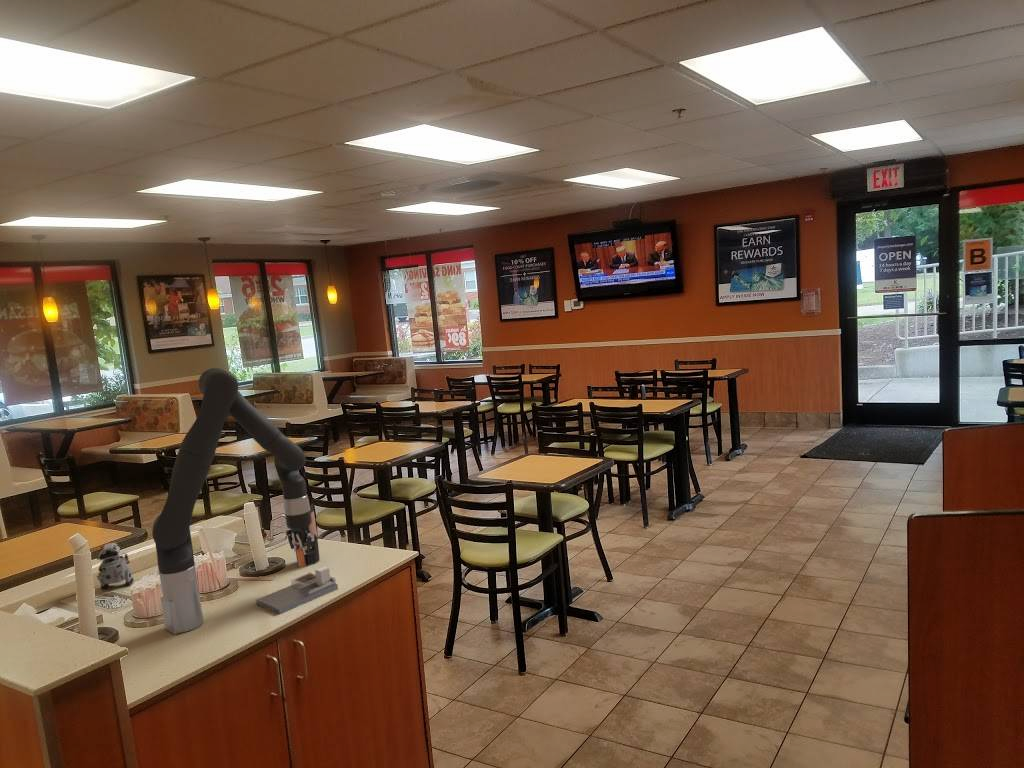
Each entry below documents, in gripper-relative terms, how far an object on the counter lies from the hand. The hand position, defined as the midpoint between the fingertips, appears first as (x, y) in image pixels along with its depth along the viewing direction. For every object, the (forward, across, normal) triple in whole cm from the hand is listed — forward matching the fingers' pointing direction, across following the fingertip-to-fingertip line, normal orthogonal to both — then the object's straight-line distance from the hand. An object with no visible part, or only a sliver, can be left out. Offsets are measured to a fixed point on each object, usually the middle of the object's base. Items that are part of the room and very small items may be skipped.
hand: (305, 563), depth 224 cm
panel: (+8, -3, +6) cm, 10 cm away
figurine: (+8, +61, +35) cm, 71 cm away
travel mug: (+8, +21, -13) cm, 26 cm away
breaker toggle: (+6, -6, -2) cm, 9 cm away
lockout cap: (0, 0, 0) cm, 0 cm away
